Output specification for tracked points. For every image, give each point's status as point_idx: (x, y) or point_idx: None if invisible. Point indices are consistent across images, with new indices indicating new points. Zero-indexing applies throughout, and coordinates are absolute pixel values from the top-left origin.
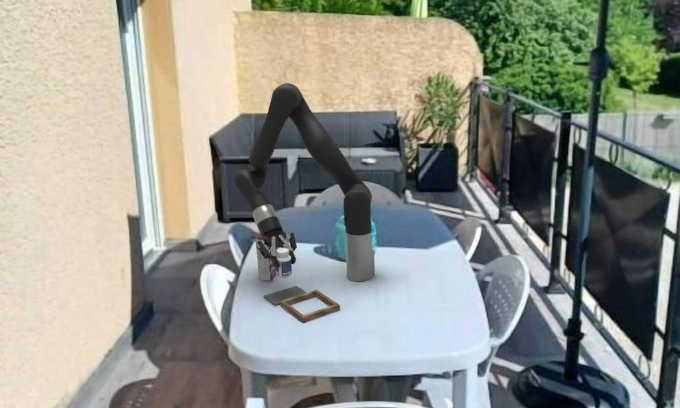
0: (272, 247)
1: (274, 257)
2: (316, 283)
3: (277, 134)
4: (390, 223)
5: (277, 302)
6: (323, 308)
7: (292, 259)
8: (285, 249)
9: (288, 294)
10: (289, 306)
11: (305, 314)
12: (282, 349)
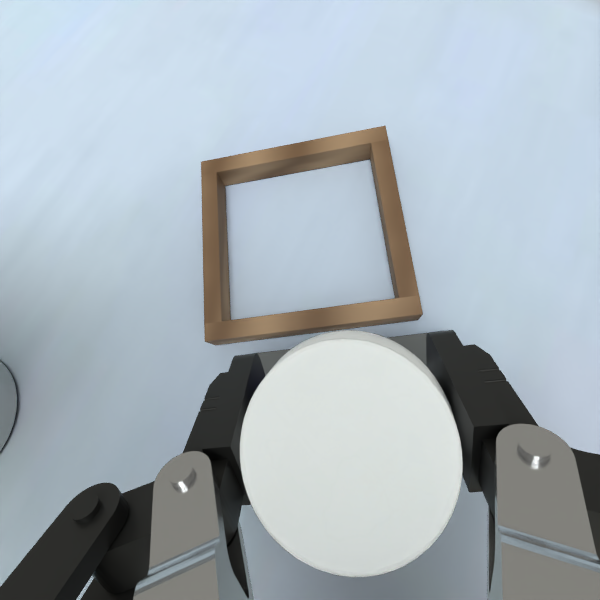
0: (595, 587)
1: (501, 417)
2: (153, 463)
3: None
4: None
5: (425, 346)
6: (271, 160)
7: (253, 380)
8: (286, 455)
9: None
10: (398, 239)
11: (361, 143)
12: (523, 10)
